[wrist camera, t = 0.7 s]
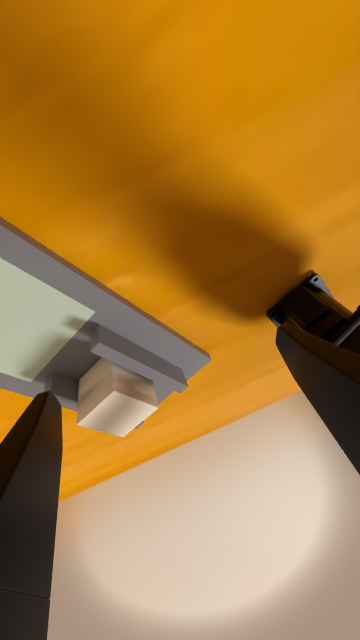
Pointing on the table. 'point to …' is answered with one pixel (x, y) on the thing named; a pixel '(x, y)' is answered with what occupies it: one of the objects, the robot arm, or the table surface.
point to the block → (114, 398)
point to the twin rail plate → (76, 327)
